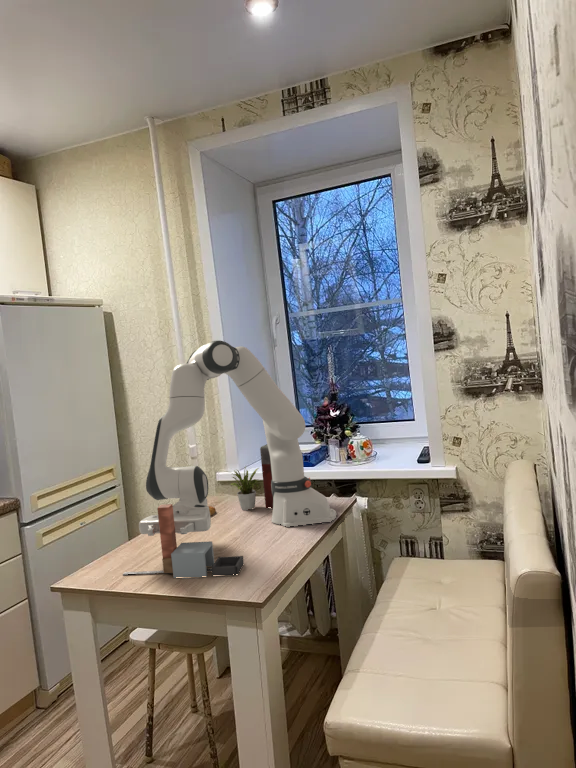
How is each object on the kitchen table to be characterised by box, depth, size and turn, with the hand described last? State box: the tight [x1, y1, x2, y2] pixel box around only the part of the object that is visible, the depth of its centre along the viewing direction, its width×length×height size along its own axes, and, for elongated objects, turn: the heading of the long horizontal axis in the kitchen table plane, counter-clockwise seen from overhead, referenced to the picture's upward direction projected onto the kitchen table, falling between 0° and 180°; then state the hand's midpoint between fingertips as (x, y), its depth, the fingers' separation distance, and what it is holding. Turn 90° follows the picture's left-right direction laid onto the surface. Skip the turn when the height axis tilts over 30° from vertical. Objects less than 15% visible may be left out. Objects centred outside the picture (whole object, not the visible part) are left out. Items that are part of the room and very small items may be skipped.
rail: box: [122, 568, 212, 576], centre depth 166 cm, size 26×1×1 cm, turn 82°
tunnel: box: [171, 540, 215, 579], centre depth 165 cm, size 9×9×7 cm
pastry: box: [208, 505, 217, 517], centre depth 222 cm, size 9×7×4 cm
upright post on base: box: [157, 503, 178, 573], centre depth 165 cm, size 10×4×18 cm, turn 82°
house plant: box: [224, 466, 260, 511], centre depth 225 cm, size 14×14×16 cm
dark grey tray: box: [210, 555, 245, 577], centre depth 164 cm, size 7×8×2 cm
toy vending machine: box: [259, 443, 273, 509], centre depth 225 cm, size 9×11×28 cm
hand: (166, 532), depth 165 cm, fingers open, 8 cm apart
